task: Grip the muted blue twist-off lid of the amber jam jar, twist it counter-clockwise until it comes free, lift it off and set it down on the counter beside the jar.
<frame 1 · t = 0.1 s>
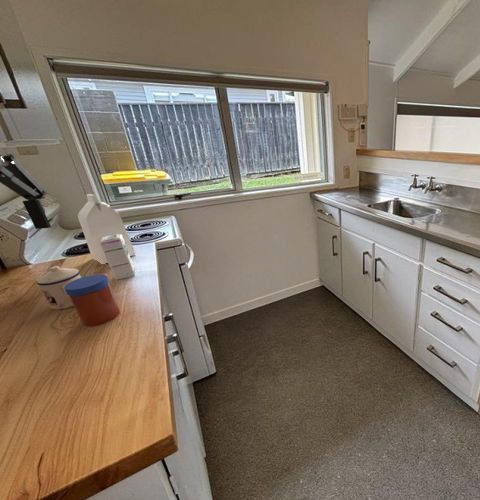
hand: (15, 237, 60), 26 cm above the counter, tool pointing down, fingers open, 13 cm apart
teacup with lid: (72, 304, 84), on the counter
jam lid: (86, 282, 73), point 11 cm above the counter, screwed on, not yet turned
syrup box: (125, 275, 101), on the counter
milk: (114, 257, 118), on the counter
jam jar: (102, 317, 77), on the counter
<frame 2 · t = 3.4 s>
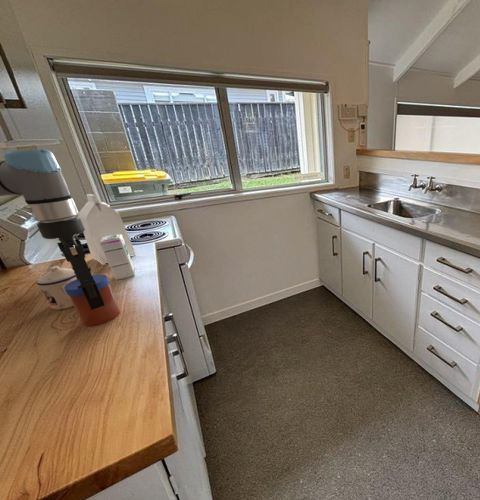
hand: (94, 301, 75), 5 cm above the counter, tool pointing down, fingers closed on jam lid, 8 cm apart
jam lid: (86, 282, 73), point 11 cm above the counter, screwed on, not yet turned, touching gripper
everything else where it was.
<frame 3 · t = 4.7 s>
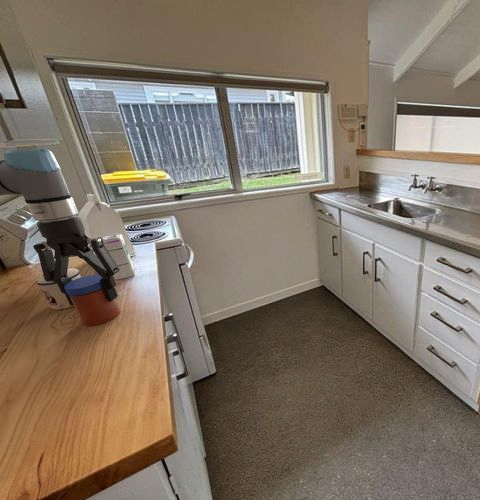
hand: (94, 300, 75), 5 cm above the counter, tool pointing down, fingers closed on jam lid, 8 cm apart
jam lid: (86, 282, 73), point 11 cm above the counter, turned 50° so far, risen 0.1 cm, still on its thread, touching gripper
everything else where it was.
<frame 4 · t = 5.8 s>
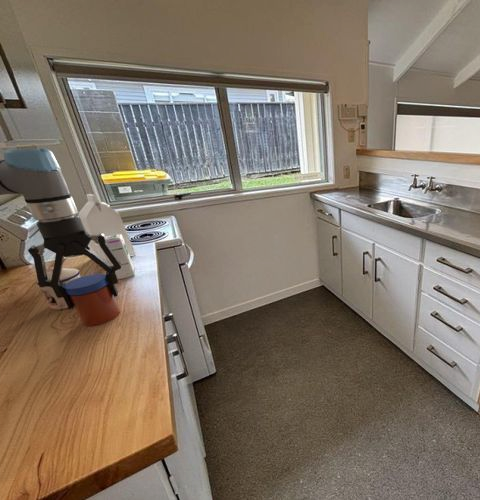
hand: (94, 300, 75), 5 cm above the counter, tool pointing down, fingers closed on jam lid, 8 cm apart
jam lid: (86, 282, 73), point 11 cm above the counter, turned 78° so far, risen 0.2 cm, still on its thread, touching gripper
everything else where it was.
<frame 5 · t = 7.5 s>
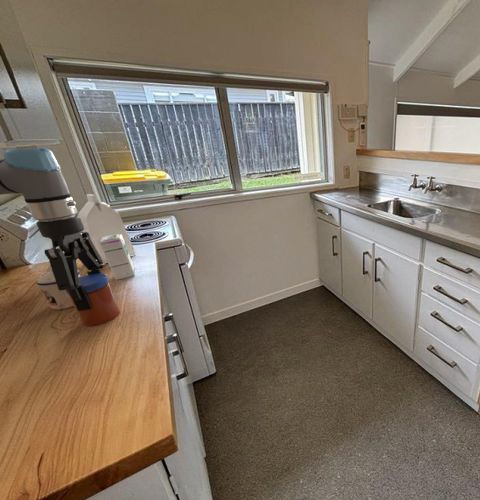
hand: (94, 300, 75), 5 cm above the counter, tool pointing down, fingers closed on jam lid, 8 cm apart
jam lid: (86, 281, 73), point 11 cm above the counter, off its thread, touching gripper
everything else where it was.
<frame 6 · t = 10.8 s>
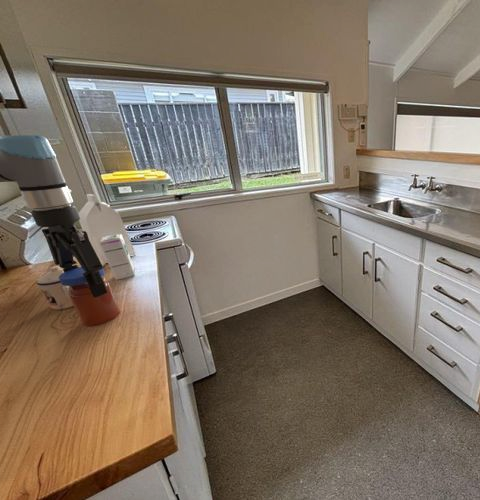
hand: (90, 291, 74), 8 cm above the counter, tool pointing down, fingers closed on jam lid, 8 cm apart
jam lid: (81, 273, 72), point 13 cm above the counter, off its thread, touching gripper
everything else where it was.
when the fingers open (0 cm above the counter, at t = 17.8 s): jam lid drops 4 cm, point 1 cm above the counter.
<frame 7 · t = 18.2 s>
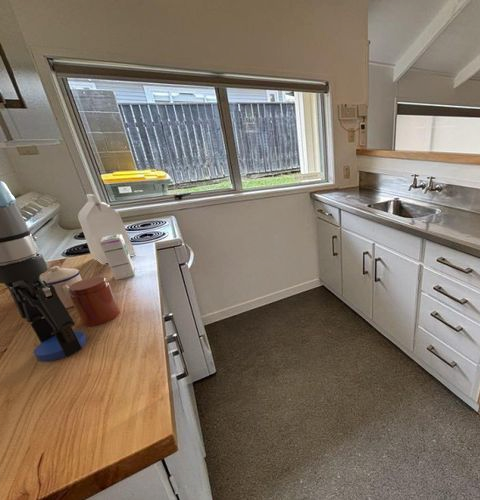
hand: (62, 347, 65), 0 cm above the counter, tool pointing down, fingers open, 9 cm apart
jam lid: (60, 343, 65), point 1 cm above the counter, off its thread
everything else where it was.
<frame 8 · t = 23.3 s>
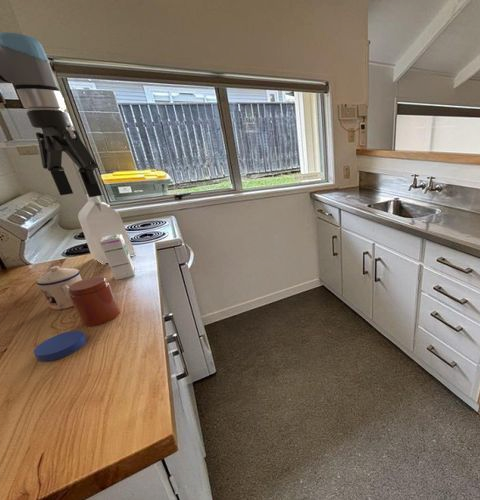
hand: (80, 195, 79), 31 cm above the counter, tool pointing down, fingers open, 13 cm apart
nothing on the counter moved.
at the end: jam lid came off its thread; jam lid point 1.4 cm above the counter; the gripper is holding nothing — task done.
